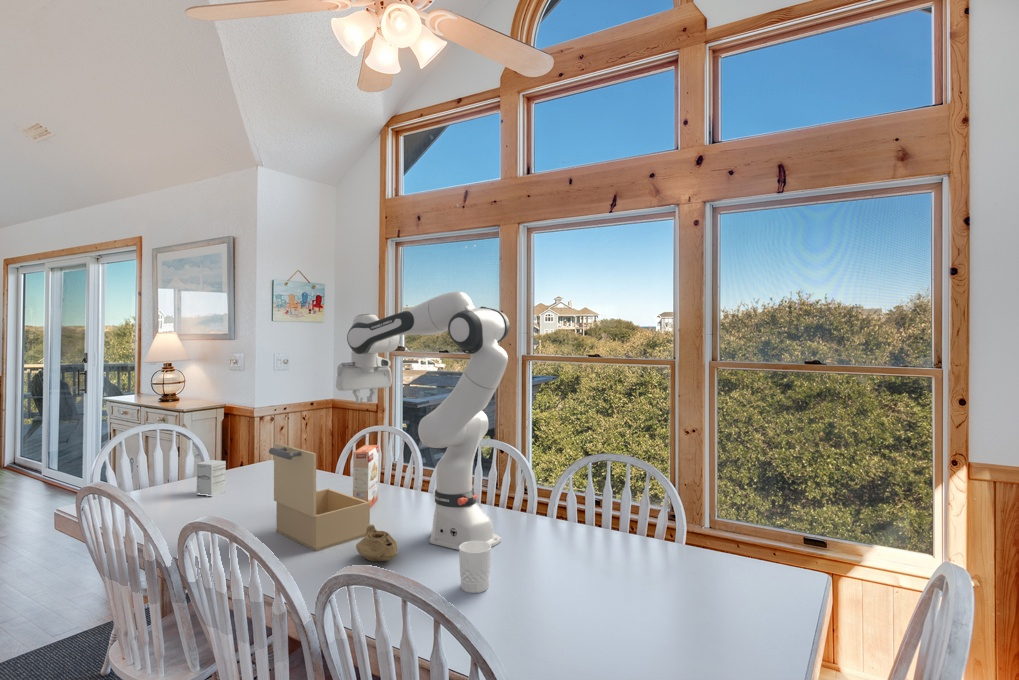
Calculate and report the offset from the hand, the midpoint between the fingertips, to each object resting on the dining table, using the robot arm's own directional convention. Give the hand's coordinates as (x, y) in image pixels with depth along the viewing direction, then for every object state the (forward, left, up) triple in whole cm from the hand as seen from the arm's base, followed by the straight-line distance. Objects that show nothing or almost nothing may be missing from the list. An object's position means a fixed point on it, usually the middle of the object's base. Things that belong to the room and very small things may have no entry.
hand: (364, 402), depth 189 cm
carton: (-4, +18, -39) cm, 43 cm away
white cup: (-66, +13, -39) cm, 78 cm away
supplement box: (+68, +24, -39) cm, 82 cm away
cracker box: (+11, -8, -39) cm, 42 cm away
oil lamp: (-34, +18, -39) cm, 55 cm away
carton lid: (-4, +27, -20) cm, 34 cm away
